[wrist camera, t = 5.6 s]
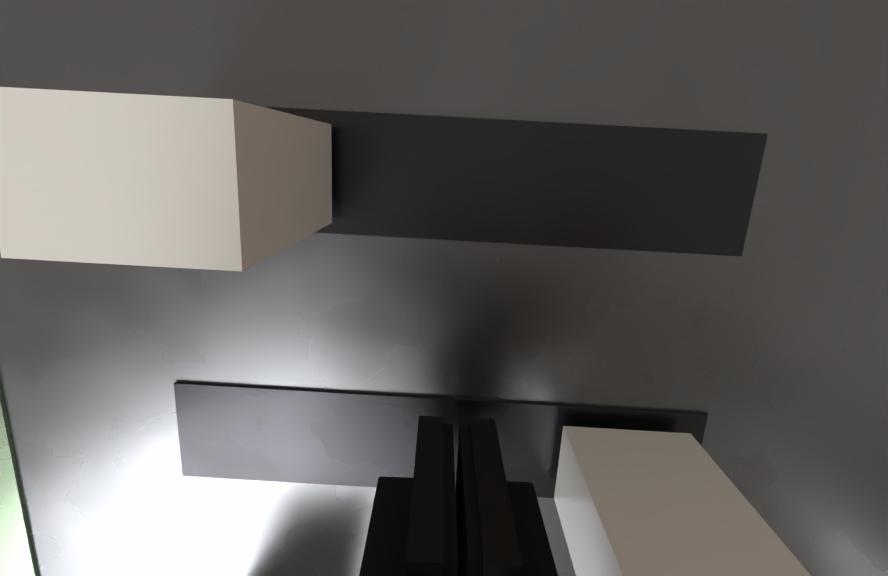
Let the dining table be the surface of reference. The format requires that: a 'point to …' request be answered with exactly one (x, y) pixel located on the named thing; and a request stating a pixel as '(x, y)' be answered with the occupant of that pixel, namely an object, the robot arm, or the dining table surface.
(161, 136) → the block
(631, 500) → the block
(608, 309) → the panel
